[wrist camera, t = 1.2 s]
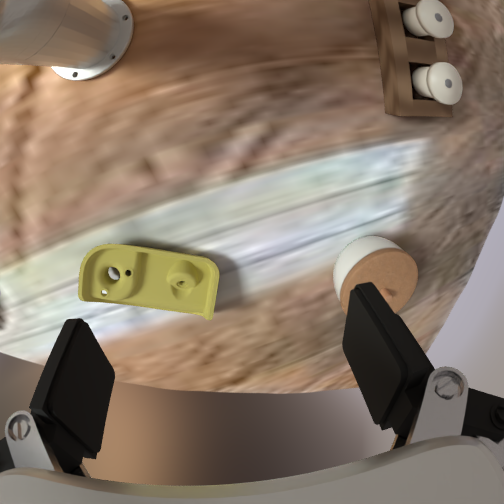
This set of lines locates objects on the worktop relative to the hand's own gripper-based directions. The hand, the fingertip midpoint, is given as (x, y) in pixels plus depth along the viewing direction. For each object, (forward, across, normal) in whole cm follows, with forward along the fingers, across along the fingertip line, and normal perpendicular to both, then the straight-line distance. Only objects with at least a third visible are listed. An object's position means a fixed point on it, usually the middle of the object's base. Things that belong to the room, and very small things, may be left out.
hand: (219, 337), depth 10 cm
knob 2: (+28, -29, -10) cm, 41 cm away
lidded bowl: (+31, -21, +18) cm, 42 cm away
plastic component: (+32, +12, +16) cm, 37 cm away
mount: (+31, -28, -19) cm, 46 cm away
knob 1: (+28, -28, -19) cm, 44 cm away
